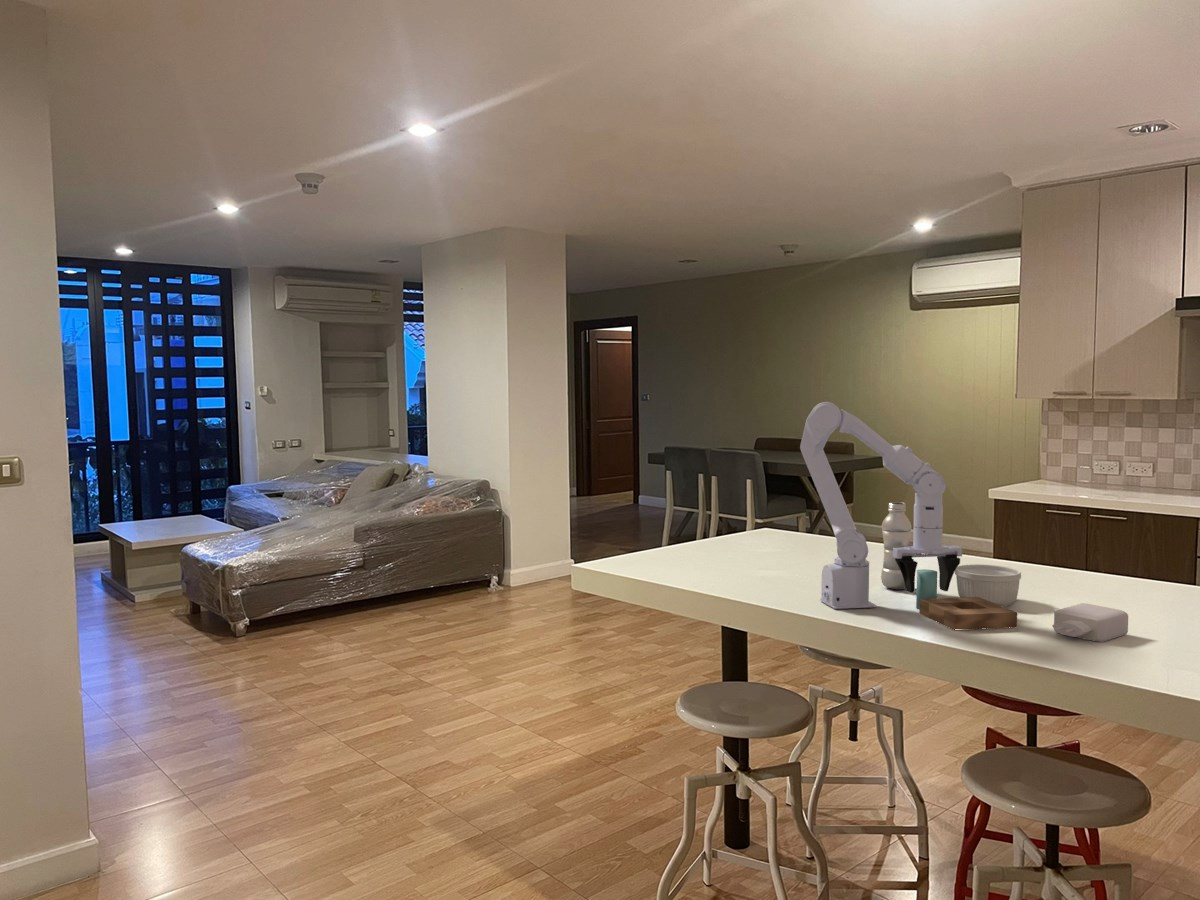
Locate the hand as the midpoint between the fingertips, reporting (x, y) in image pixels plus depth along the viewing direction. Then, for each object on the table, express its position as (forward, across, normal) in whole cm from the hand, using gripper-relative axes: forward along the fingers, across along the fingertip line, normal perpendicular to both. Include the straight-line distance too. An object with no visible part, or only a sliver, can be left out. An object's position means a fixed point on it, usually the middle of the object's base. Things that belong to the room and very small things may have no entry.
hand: (927, 591), depth 179 cm
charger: (+4, +18, -24) cm, 30 cm away
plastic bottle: (+4, +3, +19) cm, 20 cm away
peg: (+4, 0, 0) cm, 4 cm away
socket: (+4, +3, -10) cm, 11 cm away
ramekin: (+4, +17, +5) cm, 18 cm away
